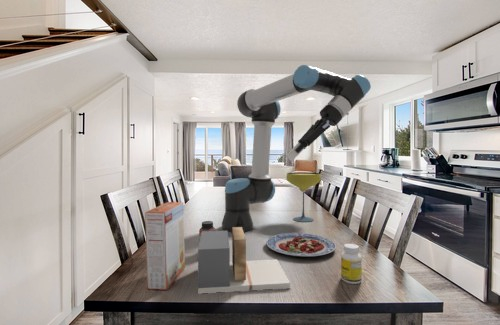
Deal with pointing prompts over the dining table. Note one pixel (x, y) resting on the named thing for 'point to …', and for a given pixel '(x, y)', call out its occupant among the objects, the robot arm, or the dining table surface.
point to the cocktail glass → (303, 187)
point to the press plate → (239, 253)
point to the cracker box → (164, 244)
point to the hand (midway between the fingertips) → (288, 158)
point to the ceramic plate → (301, 244)
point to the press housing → (221, 269)
